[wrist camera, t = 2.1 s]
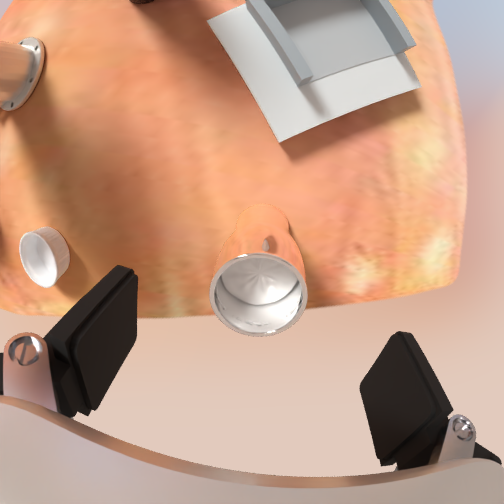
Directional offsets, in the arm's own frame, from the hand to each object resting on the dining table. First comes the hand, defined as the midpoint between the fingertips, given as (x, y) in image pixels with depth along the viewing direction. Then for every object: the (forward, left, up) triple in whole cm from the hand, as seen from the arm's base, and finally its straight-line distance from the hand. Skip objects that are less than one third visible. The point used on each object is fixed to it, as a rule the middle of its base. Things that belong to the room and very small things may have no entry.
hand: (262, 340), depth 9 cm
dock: (+13, +13, -23) cm, 30 cm away
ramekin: (-32, +9, -24) cm, 41 cm away
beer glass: (-2, -3, -24) cm, 24 cm away
